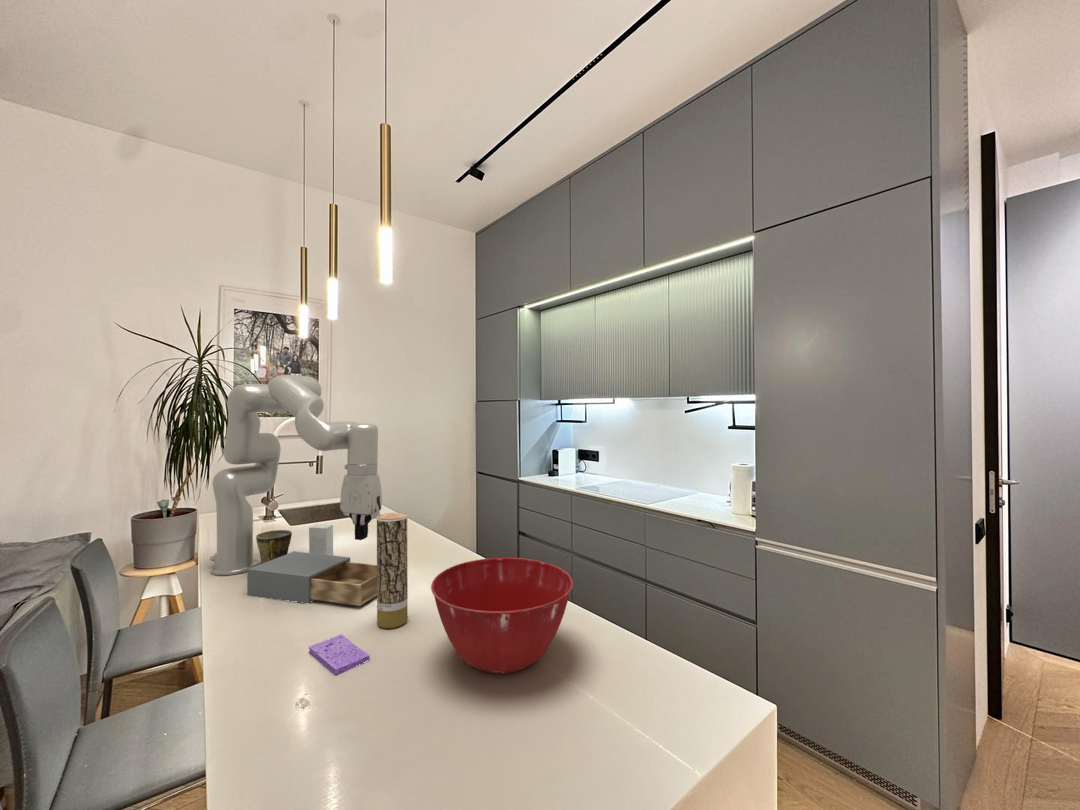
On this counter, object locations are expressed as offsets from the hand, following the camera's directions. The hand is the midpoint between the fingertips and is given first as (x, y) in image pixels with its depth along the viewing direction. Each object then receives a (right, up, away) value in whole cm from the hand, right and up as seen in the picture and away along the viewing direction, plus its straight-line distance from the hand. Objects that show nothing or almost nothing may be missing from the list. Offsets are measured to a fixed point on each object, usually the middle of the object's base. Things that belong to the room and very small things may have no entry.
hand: (361, 538), depth 125 cm
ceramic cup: (-37, -16, +23) cm, 46 cm away
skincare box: (-23, -16, +27) cm, 39 cm away
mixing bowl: (+40, -15, -30) cm, 52 cm away
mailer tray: (-4, -15, +1) cm, 15 cm away
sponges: (+7, -16, -30) cm, 35 cm away
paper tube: (+13, -16, -16) cm, 26 cm away
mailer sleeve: (-19, -16, +6) cm, 25 cm away
